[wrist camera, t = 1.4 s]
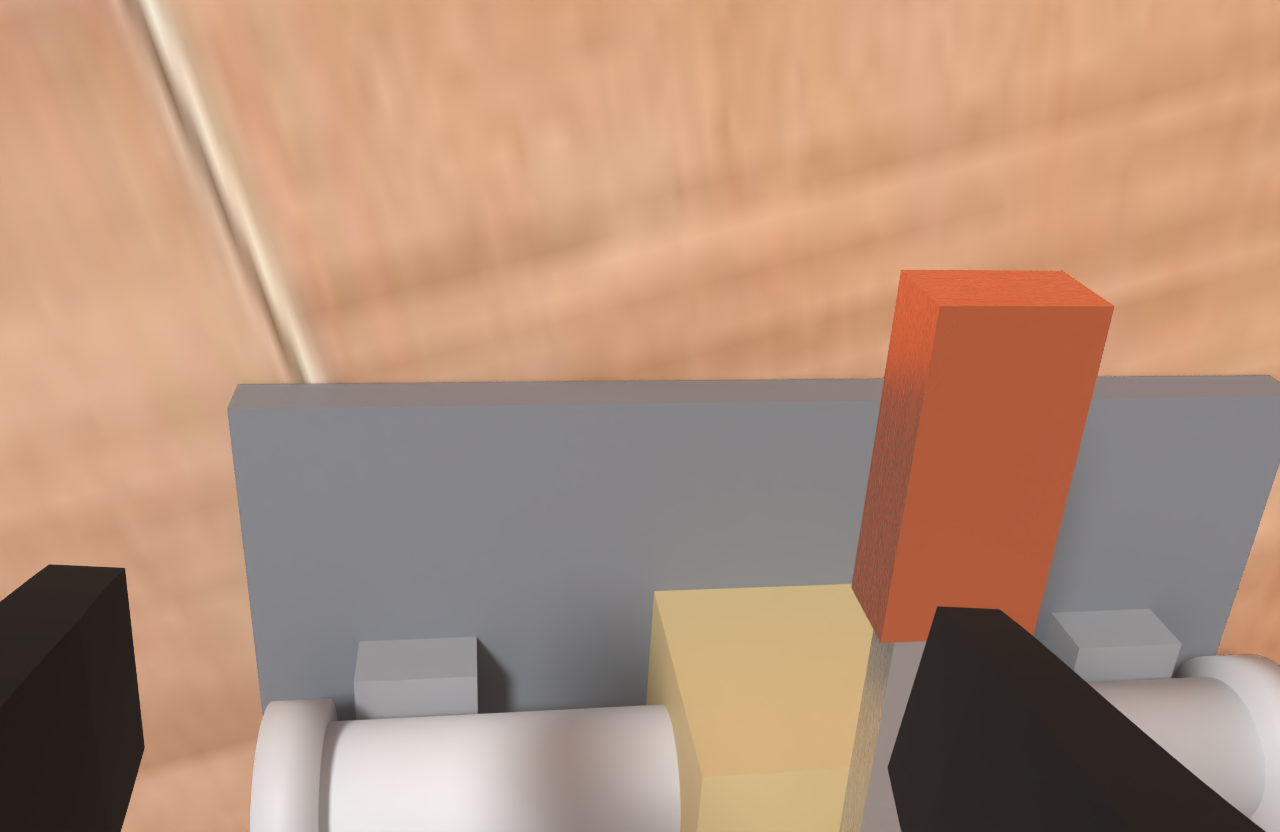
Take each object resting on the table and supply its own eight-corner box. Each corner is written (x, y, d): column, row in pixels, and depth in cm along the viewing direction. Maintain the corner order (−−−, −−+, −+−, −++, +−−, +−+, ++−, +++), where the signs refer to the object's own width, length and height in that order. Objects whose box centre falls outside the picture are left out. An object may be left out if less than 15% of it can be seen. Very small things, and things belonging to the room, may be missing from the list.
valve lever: (911, 974, 19) (939, 1041, 18) (782, 986, 18) (801, 1055, 17) (1070, 270, 13) (1123, 306, 12) (893, 269, 13) (930, 305, 12)
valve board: (292, 878, 25) (238, 1201, 19) (237, 384, 20) (140, 611, 14) (1128, 819, 28) (1310, 1082, 22) (1269, 374, 23) (1558, 559, 17)
